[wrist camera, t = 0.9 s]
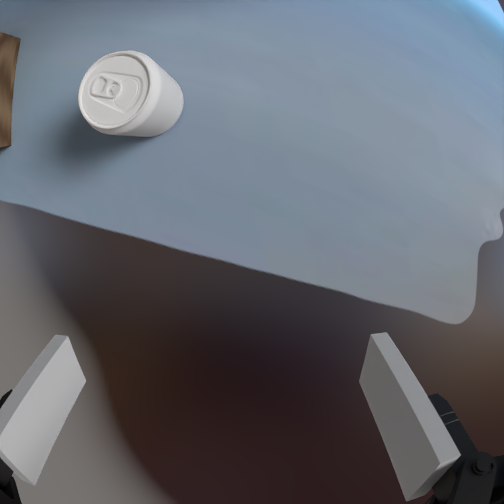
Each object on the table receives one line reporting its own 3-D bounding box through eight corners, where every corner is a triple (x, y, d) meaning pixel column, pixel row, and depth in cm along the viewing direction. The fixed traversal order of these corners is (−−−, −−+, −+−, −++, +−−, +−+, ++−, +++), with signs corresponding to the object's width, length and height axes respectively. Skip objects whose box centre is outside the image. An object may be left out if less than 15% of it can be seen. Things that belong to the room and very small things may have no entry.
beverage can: (168, 146, 34) (133, 146, 22) (112, 125, 32) (61, 120, 21) (195, 85, 31) (173, 58, 20) (138, 67, 30) (96, 39, 19)
